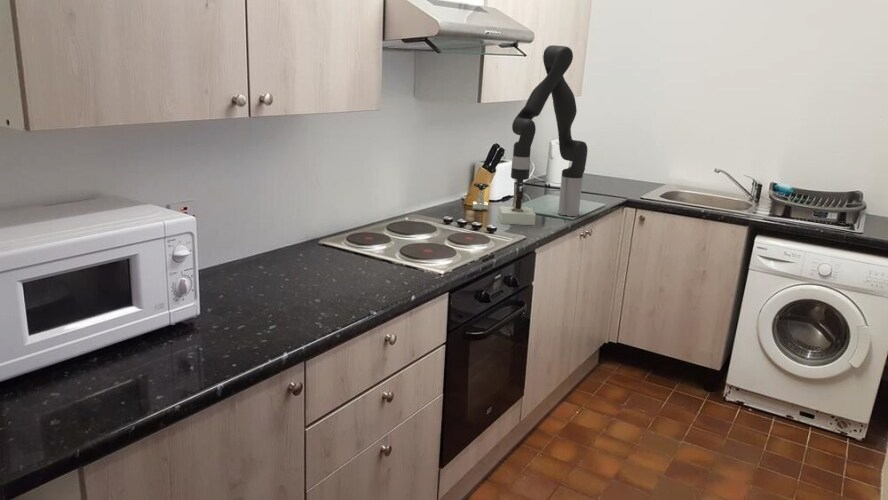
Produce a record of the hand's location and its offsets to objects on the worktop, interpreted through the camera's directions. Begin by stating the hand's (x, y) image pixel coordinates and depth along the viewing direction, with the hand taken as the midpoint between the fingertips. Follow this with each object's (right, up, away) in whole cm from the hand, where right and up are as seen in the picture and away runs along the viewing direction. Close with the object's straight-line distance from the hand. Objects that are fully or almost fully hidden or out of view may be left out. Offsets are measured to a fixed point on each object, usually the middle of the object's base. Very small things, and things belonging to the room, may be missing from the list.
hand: (517, 207), depth 274 cm
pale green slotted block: (0, -5, +1) cm, 6 cm away
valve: (-15, 0, +19) cm, 24 cm away
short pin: (-20, -6, -2) cm, 21 cm away
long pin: (0, -3, +1) cm, 3 cm away
